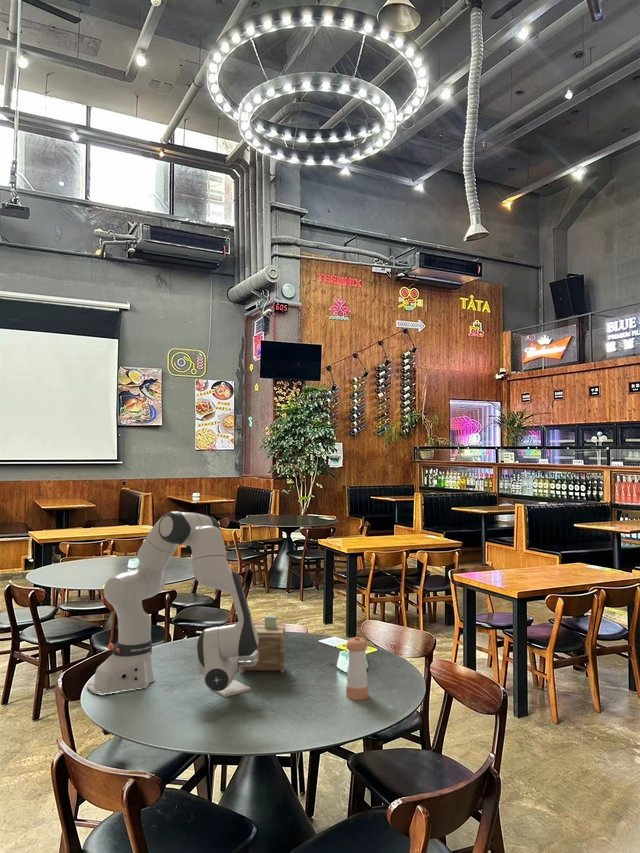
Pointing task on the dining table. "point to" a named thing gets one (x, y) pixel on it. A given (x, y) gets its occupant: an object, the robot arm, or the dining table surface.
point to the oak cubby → (270, 648)
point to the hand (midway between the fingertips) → (231, 651)
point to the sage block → (270, 622)
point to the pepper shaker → (357, 670)
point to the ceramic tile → (233, 689)
